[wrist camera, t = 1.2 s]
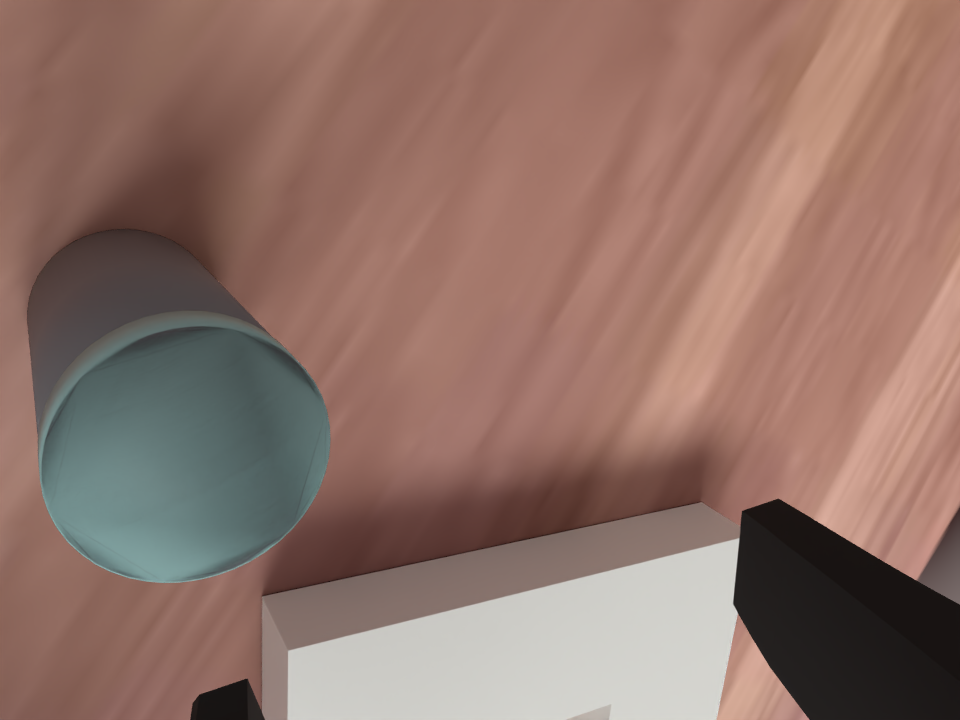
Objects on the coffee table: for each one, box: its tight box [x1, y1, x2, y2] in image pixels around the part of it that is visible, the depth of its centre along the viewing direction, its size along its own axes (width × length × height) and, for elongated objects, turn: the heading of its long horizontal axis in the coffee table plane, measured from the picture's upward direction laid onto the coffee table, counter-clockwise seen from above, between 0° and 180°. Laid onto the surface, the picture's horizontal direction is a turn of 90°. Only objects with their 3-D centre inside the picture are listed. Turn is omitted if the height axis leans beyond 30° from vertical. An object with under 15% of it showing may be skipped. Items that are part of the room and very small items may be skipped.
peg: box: [27, 229, 330, 583], centre depth 15 cm, size 4×4×8 cm
